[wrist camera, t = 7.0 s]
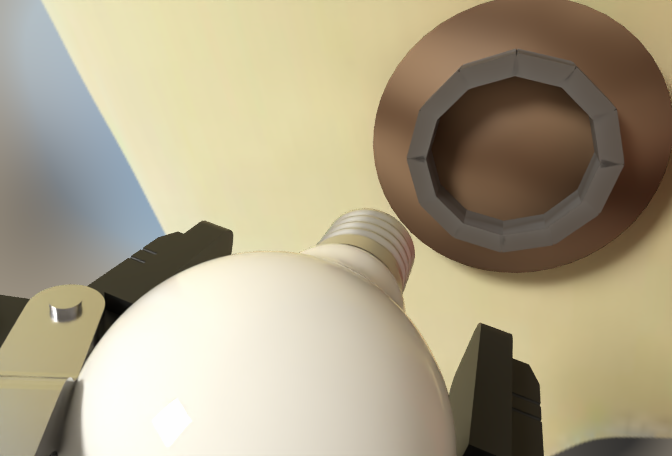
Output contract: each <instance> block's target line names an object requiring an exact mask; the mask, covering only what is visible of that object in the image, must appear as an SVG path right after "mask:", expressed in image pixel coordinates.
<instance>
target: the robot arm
mask: <svg viewBox="0 0 672 456" xmlns="http://www.w3.org/2000/svg"><path fill="white" fill-rule="evenodd" d="M232 245H233V232H232V231H231V230H229V229H226V228H223V227H221V226H218V225H215V224H212V223H210V222H207V221H201V222H200V223H198V224H197V225H195V226H194V227H193V228H191V229H190V230H189V231H187V232H186V233H184V234H183V233H180V232H175V233H172V234H168V235H165V236H162V237H158V238H157V239H155V240H154V241H152V242H151V243H149V244H148V245H146V246H145V247H144V248H143V250H139V251H138V252H136V253H135V254H133V255H132V256H131V258H128V259H126V260H125V261H123V262H122V263H120V264H119V265H117V266H116V267H114V268H113V269H111V270H110V271H109V272H107V273H106V274H104V275H103V276H101V277H100V278H98V279H97V280H96V281H94V282H92V283H91V284H90V285H88V286H83V285H61V286H55V287H51V288H48V289H46V290H43V291H41V292H39V293H38V294H36V295H35V296H33V297H32V298H31V299H26V298H19V297H11V296H5V295H0V456H58V453H59V447H60V441H61V436H62V431H63V427H64V422H65V418H66V414H67V410H68V407H69V403H70V400H71V396H72V393H73V390H74V387H75V384H76V381H77V379H78V376H79V374H80V372H81V370H82V367H83V365H84V364H85V362H86V360H87V359H88V357H89V355H90V354H91V352H92V351H93V349H94V348H95V346H96V345H97V343H98V342H99V341H100V339H101V338H102V337H103V335H104V334H105V333H106V331H107V330H108V329H109V328H110V327H111V325H112V324H113V323H114V322H115V321H116V320H117V319H118V318H119V317H120V316H121V315H122V314H123V313H124V312H125V311H126V310H127V309H128V308H129V307H130V306H131V305H132V304H133V303H134V302H136V301H137V300H138V299H139V298H140V297H142V296H143V295H144V294H146V293H147V292H148V291H150V290H151V289H152V288H154V287H155V286H157V285H158V284H160V283H161V282H163V281H165V280H166V279H168V278H170V277H172V276H173V275H175V274H177V273H179V272H181V271H183V270H185V269H188V268H190V267H192V266H194V265H197V264H200V263H202V262H205V261H208V260H211V259H215V258H218V257H222V256H226V255H231V252H232ZM512 350H513V337H512V334H510V333H507V332H504V331H501V330H499V329H496V328H493V327H491V326H488V325H485V324H482V323H479V324H478V325H477V327H476V329H475V331H474V333H473V336H472V338H471V340H470V342H469V345H468V347H467V349H466V351H465V353H464V356H463V358H462V360H461V362H460V365H459V367H458V369H457V371H456V374H455V376H454V379H453V382H452V385H451V389H450V393H449V398H450V402H451V406H452V411H453V416H454V423H455V430H456V442H457V456H544V451H543V434H542V422H541V407H540V403H541V402H540V385H539V382H538V381H537V379H536V377H535V375H534V373H533V371H532V369H531V367H530V366H529V364H526V363H523V362H521V361H518V360H516V359H513V358H512Z"/></svg>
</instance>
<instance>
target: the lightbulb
mask: <svg viewBox="0 0 672 456" xmlns="http://www.w3.org/2000/svg"><path fill="white" fill-rule="evenodd" d="M414 258H415V250H414V245H413V241H412V239H411V237H410V235H409V233H408V231H407V230H406V229H405V227H404V226H403V225H402V224H401V223H400V222H399V221H398V220H396V219H395V218H394V217H392V216H391V215H389V214H387V213H385V212H382V211H379V210H375V209H368V208H362V209H355V210H352V211H349V212H346V213H344V214H343V215H341V216H340V217H338V218H337V219H336V220H335V221H334V222H333V224H332V225H331V226H330V228H329V229H328V230H327V232H326V233H325V235H324V236H323V237H322V238H321V240H320V241H319V242H318V243H317V245H316V246H314V247H311V248H308V249H306V250H303V251H301V252H299V253H295V252H285V251H253V252H244V253H237V254H232V255H226V256H222V257H218V258H215V259H211V260H208V261H205V262H202V263H200V264H197V265H194V266H192V267H190V268H188V269H185V270H183V271H181V272H179V273H177V274H175V275H173V276H172V277H170V278H168V279H166V280H165V281H163V282H161V283H160V284H158V285H157V286H155V287H154V288H152V289H151V290H150V291H148V292H147V293H146V294H144V295H143V296H142V297H140V298H139V299H138V300H137V301H136V302H134V303H133V304H132V305H131V306H130V307H129V308H128V309H127V310H126V311H125V312H124V313H123V314H122V315H121V316H120V317H119V318H118V319H117V320H116V321H115V322H114V323H113V324H112V325H111V327H110V328H109V329H108V330H107V331H106V333H105V334H104V335H103V337H102V338H101V339H100V341H99V342H98V343H97V345H96V346H95V348H94V349H93V351H92V352H91V354H90V355H89V357H88V359H87V360H86V362H85V364H84V365H83V367H82V370H81V372H80V374H79V376H78V379H77V381H76V384H75V387H74V390H73V393H72V396H71V400H70V403H69V407H68V410H67V414H66V418H65V422H64V427H63V431H62V436H61V441H60V447H59V453H58V456H457V442H456V430H455V423H454V416H453V411H452V406H451V402H450V398H449V394H448V391H447V388H446V385H445V382H444V379H443V376H442V374H441V371H440V369H439V366H438V364H437V362H436V360H435V358H434V356H433V354H432V352H431V350H430V348H429V346H428V345H427V343H426V341H425V340H424V338H423V336H422V335H421V333H420V332H419V330H418V329H417V328H416V326H415V325H414V323H413V322H412V321H411V319H410V318H409V317H408V316H407V315H406V311H405V304H404V299H403V291H404V289H405V286H406V283H407V281H408V278H409V275H410V273H411V269H412V266H413V263H414Z"/></svg>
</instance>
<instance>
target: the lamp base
mask: <svg viewBox="0 0 672 456" xmlns="http://www.w3.org/2000/svg"><path fill="white" fill-rule="evenodd" d="M671 146H672V107H671V101H670V96H669V92H668V89H667V87H666V84H665V81H664V78H663V75H662V73H661V72H660V70H659V68H658V66H657V64H656V63H655V61H654V59H653V57H652V56H651V55H650V53H649V52H648V51H647V50H646V48H645V47H644V46H643V45H642V43H641V42H640V41H639V40H638V39H637V38H636V37H635V36H634V35H633V34H632V33H630V32H629V31H628V30H627V29H626V28H625V27H624V26H622V25H621V24H619V23H618V22H616V21H615V20H613V19H612V18H610V17H609V16H607V15H605V14H603V13H601V12H599V11H597V10H594V9H592V8H590V7H588V6H586V5H582V4H579V3H575V2H572V1H568V0H494V1H490V2H487V3H483V4H480V5H478V6H475V7H473V8H470V9H468V10H466V11H463V12H461V13H459V14H457V15H455V16H453V17H452V18H450V19H448V20H446V21H445V22H443V23H441V24H440V25H438V26H437V27H436V28H434V29H433V30H432V31H430V32H429V33H428V34H426V35H425V36H424V37H423V38H422V39H421V40H420V41H419V42H418V43H417V44H416V45H415V46H414V47H413V48H412V49H411V50H410V51H409V52H408V53H407V55H406V56H405V57H404V58H403V60H402V61H401V62H400V63H399V65H398V66H397V68H396V69H395V71H394V73H393V74H392V76H391V78H390V79H389V81H388V83H387V86H386V88H385V90H384V92H383V95H382V97H381V100H380V104H379V107H378V110H377V114H376V120H375V126H374V140H373V149H374V159H375V166H376V170H377V174H378V179H379V181H380V184H381V187H382V189H383V192H384V195H385V196H386V198H387V200H388V202H389V204H390V206H391V208H392V209H393V211H394V212H395V213H396V215H397V216H398V218H399V219H400V221H401V222H402V223H403V224H404V225H405V226H406V227H407V228H408V229H409V230H410V232H411V233H412V234H414V235H415V236H416V237H417V238H418V239H419V240H421V241H422V242H423V243H424V244H426V245H427V246H429V247H430V248H432V249H433V250H435V251H436V252H438V253H440V254H442V255H444V256H445V257H447V258H449V259H451V260H454V261H457V262H459V263H462V264H464V265H467V266H471V267H475V268H479V269H482V270H489V271H496V272H511V273H520V272H534V271H540V270H546V269H551V268H555V267H558V266H562V265H565V264H569V263H571V262H574V261H576V260H579V259H581V258H583V257H586V256H588V255H590V254H591V253H593V252H595V251H597V250H599V249H600V248H602V247H604V246H605V245H607V244H608V243H609V242H611V241H612V240H614V239H615V238H616V237H618V236H619V235H620V234H621V233H622V232H623V231H625V230H626V229H627V228H628V227H629V226H630V225H631V224H632V223H633V222H634V221H635V220H636V219H637V217H638V216H639V215H640V214H641V213H642V211H643V210H644V209H645V208H646V207H647V205H648V203H649V202H650V200H651V199H652V197H653V195H654V194H655V192H656V191H657V189H658V186H659V184H660V182H661V180H662V178H663V176H664V173H665V170H666V167H667V164H668V160H669V157H670V153H671Z"/></svg>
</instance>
